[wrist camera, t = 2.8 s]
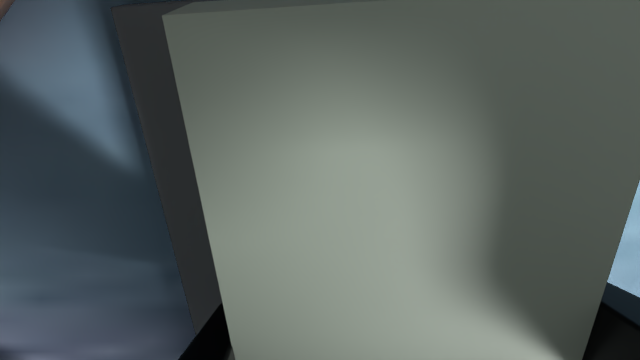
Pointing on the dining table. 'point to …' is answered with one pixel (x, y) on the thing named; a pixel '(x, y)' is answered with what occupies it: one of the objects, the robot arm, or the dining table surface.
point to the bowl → (5, 7)
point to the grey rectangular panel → (169, 148)
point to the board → (411, 170)
